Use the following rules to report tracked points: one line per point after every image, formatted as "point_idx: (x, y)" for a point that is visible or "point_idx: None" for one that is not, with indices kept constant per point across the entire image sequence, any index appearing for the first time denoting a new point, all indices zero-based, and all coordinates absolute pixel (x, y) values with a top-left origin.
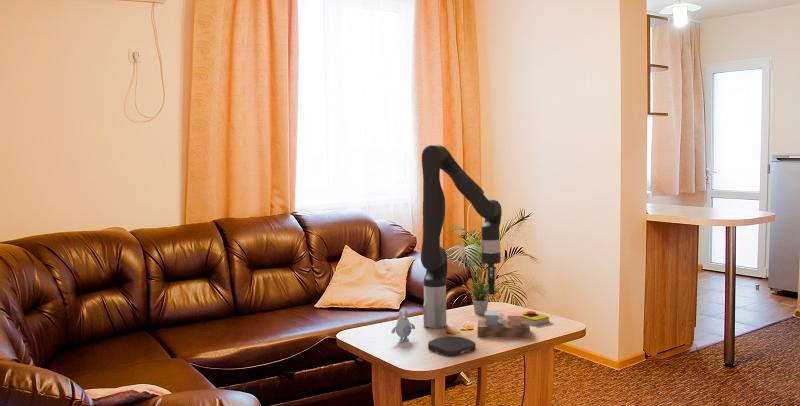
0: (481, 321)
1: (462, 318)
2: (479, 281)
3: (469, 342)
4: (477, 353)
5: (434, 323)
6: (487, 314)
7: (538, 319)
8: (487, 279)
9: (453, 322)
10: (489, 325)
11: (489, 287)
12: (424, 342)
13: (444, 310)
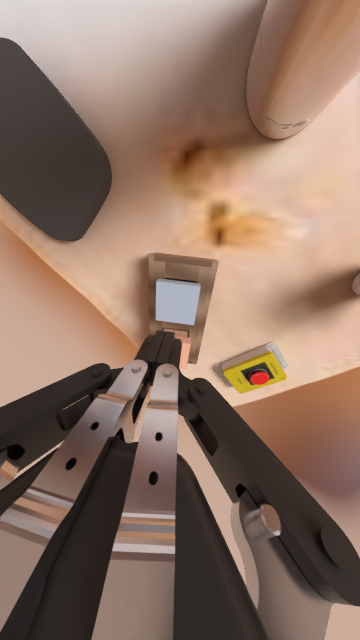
0: (198, 269)
1: (340, 214)
2: None
3: (59, 223)
4: (47, 243)
5: (255, 44)
6: (163, 291)
7: (226, 377)
8: (101, 393)
9: (305, 174)
10: None
11: (147, 353)
12: (73, 25)
13: (296, 61)
